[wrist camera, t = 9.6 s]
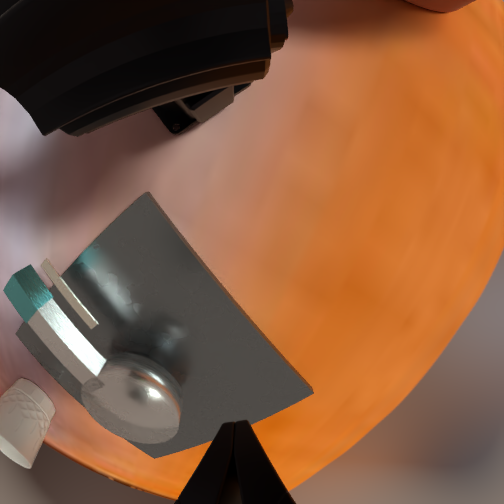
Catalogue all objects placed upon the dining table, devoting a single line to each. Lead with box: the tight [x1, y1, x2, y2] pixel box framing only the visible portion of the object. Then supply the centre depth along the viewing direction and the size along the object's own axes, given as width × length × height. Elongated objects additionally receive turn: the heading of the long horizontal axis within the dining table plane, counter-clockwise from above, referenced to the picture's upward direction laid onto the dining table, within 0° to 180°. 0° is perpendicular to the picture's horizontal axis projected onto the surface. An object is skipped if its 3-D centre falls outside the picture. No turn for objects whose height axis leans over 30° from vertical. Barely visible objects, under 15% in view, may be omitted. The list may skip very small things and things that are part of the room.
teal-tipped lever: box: [3, 264, 184, 444], centre depth 17 cm, size 17×8×3 cm, turn 35°
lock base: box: [16, 192, 314, 459], centre depth 21 cm, size 24×22×2 cm
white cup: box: [0, 378, 56, 468], centre depth 19 cm, size 8×8×10 cm
